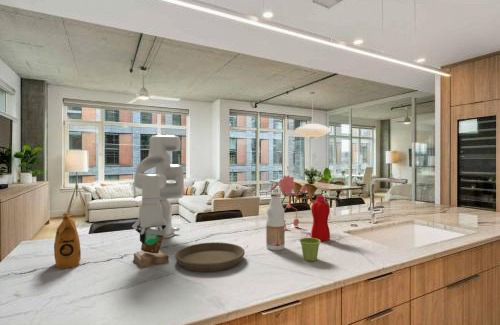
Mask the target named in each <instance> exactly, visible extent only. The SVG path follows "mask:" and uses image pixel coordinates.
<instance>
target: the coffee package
mask: <svg viewBox="0 0 500 325" xmlns="http://www.w3.org/2000/svg"><path fill="white" fill-rule="evenodd" d="M62 217H63V218H62V221H61V222H60V223H59V226H58V227H57V228H56V232H55V237H54V245H53V248H54V249H53V250H54V251H53V253H54V254H53V255H54V260H55V261H54V262H55V266H56V268H57V269H58V270H61V269H69V268H76V267H78V266H79V264H80V261H81V259H82V258H81V257H82V256H81V255H82V254H81V243H80V242H81V241H80V236H79V232H78V230H77V226H76V223H75V221H74V220H73V218H72V217H71V214H70V213H69V212H64V213H63V214H62Z"/></svg>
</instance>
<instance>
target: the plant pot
mask: <svg viewBox="0 0 500 325" xmlns="http://www.w3.org/2000/svg"><path fill="white" fill-rule="evenodd" d="M299 242H300V246H301V251H302V258H303V261H306V262H308V261H310V262H315V261H317V259H318V255H319V249H320V248H319V246H320V245H321V244H320V243H321V241H320V240H319V239H316V238H311V237H302V238H300V239H299Z"/></svg>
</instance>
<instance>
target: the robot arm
mask: <svg viewBox="0 0 500 325" xmlns="http://www.w3.org/2000/svg"><path fill="white" fill-rule="evenodd" d="M148 139H149V140H148V141H149V142H148V143H149V149H148V156H146V157H144V158H143V159H142V161H140V162H139V163H138V164H137V166H136V169H135V174H134V177H133V178H134V179H133V184H134V186H135V187H136V188H137V189H139V190H141V204H140V205H139V210H138V218H137V220H136V222H134V224H132V226H131V227H132V229H134V230H135V231H136V232H137V233H138V234H139V241H140V242H141V244H142V243H145V238H144V231H145V228H150V229H151V228H154V229H155V230H161V231H165V236H163V239H168V238H171V237H174V236H175V232H179V231H180V230H181V229H180V227H172V226H173V223H172V218H173V217H172V215H173V214H172V211H173V210H172V209H173V208H172V203H170V201H169V199H170V200H172V199H173V200H175V199H176V200H177V199H181V198H183V197H184V192H185V190H184V189H185V185H184V184H185V183H184V182H185V181H184V179H185V177H184V175H185V174H184V169H183V166H182V165H180V164H171V155H170V153H169V152H177V151H180V148H181V146H182V141H181V138H180V137H179V135H171V134H169V135H168V134H166V135H164V134H163V135H162V134H158V135H152V136H150V137H149V138H148ZM152 169H155V172H147V171H148V170H152ZM168 181H170V182H168ZM171 181H174V182H171ZM138 227H139V228H138Z"/></svg>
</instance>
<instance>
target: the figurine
mask: <svg viewBox="0 0 500 325" xmlns="http://www.w3.org/2000/svg"><path fill="white" fill-rule="evenodd" d="M294 180H295V178H294V177H293V176H292V177H290V175H287V176H286V175H283V177H282V179H281V178H280V180H279V182H280V183H279V182H277V183H276V184H274V185H273V186H272V188H270V190H269V192H272V191H274V190H275V189H277V187H279V189H280V192H281V194H282V195H283V196H284V195H288V203H287V204H286V207H285V208H284V212H285V211H286V209H287V208H288V209H290V208H292V209H294V210H295V211H296V214H295V219H294V220H293V222H292V223H293V226H294V227H297V229H299V222H300V220H299V219H298V217H297V215H298V209H297V208H295V207H293V206H292V205H291V204H290V200H291V196H292V195H295V196H299V195H300V194H301V192H303V193H306V192H307V190H308V188H307V185H305V184H303V185H302V186H301V189H300V191H299V193H297V194H296V193H294V192H293V190H296V186H295V185H296V182H295V181H294ZM284 221H285V222H286V220H285V219H284ZM306 228H307V227H306ZM285 231H287V224H285Z"/></svg>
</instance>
